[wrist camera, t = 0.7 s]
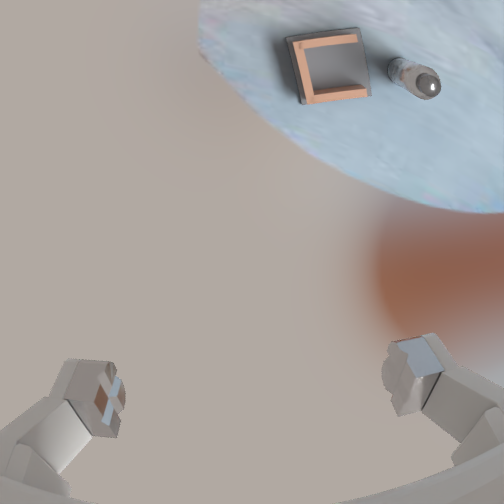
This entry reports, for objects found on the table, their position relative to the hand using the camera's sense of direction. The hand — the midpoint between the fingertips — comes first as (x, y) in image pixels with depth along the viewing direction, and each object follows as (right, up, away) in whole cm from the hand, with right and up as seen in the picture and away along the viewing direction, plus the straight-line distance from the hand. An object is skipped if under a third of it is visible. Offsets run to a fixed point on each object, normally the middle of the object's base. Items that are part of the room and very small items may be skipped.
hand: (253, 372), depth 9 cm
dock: (+11, +31, +33) cm, 46 cm away
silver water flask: (+23, +31, +31) cm, 49 cm away
